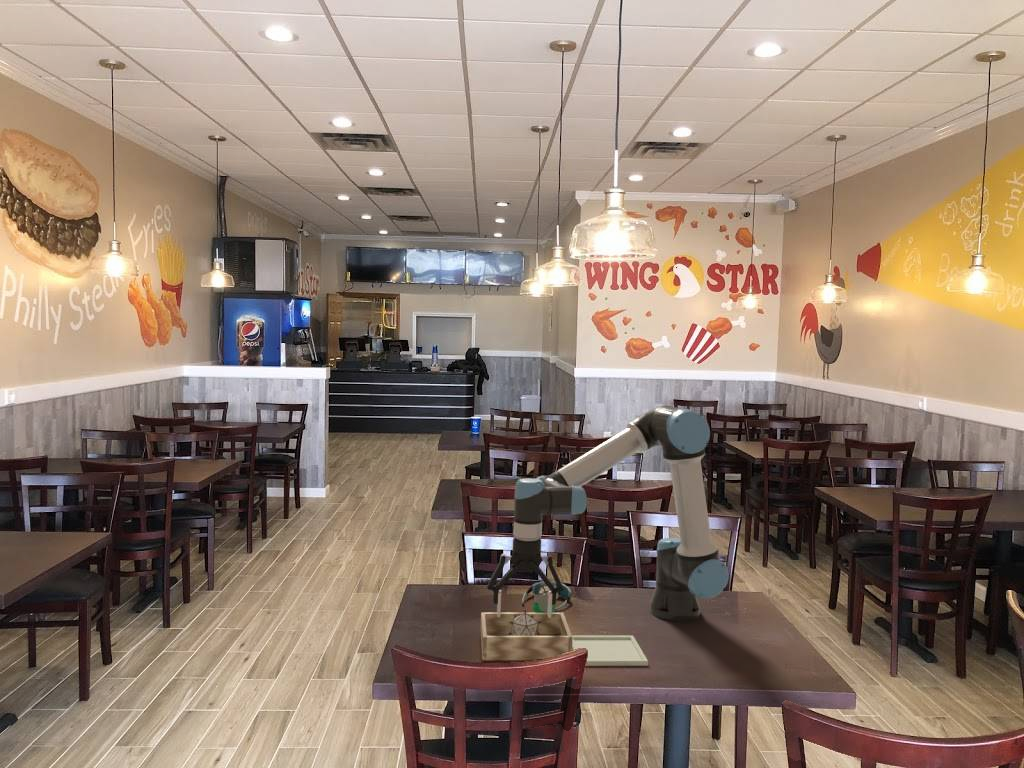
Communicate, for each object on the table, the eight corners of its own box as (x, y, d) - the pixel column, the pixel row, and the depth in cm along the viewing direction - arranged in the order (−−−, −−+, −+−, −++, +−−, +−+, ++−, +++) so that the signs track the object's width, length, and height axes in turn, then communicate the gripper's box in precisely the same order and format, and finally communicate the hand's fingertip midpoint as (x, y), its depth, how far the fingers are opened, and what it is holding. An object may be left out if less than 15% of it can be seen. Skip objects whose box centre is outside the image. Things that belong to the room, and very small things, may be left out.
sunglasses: (576, 599, 242) (576, 584, 242) (559, 619, 229) (558, 603, 228) (535, 591, 248) (535, 577, 248) (516, 611, 235) (516, 595, 234)
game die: (507, 640, 208) (508, 603, 208) (538, 639, 209) (539, 603, 208) (509, 653, 199) (510, 615, 199) (542, 652, 200) (543, 615, 200)
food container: (554, 632, 215) (555, 597, 214) (532, 629, 216) (533, 595, 216) (560, 617, 227) (561, 583, 226) (539, 615, 228) (540, 582, 228)
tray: (632, 639, 211) (633, 635, 211) (647, 665, 194) (648, 660, 194) (568, 639, 209) (568, 635, 209) (577, 665, 192) (577, 661, 192)
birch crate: (562, 633, 214) (563, 612, 214) (571, 660, 196) (572, 637, 196) (480, 633, 212) (481, 612, 212) (482, 660, 194) (482, 637, 194)
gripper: (571, 534, 207) (568, 611, 208) (480, 532, 205) (477, 610, 206) (575, 542, 200) (572, 621, 201) (480, 539, 198) (477, 620, 199)
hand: (523, 616), depth 204 cm, fingers open, 13 cm apart
